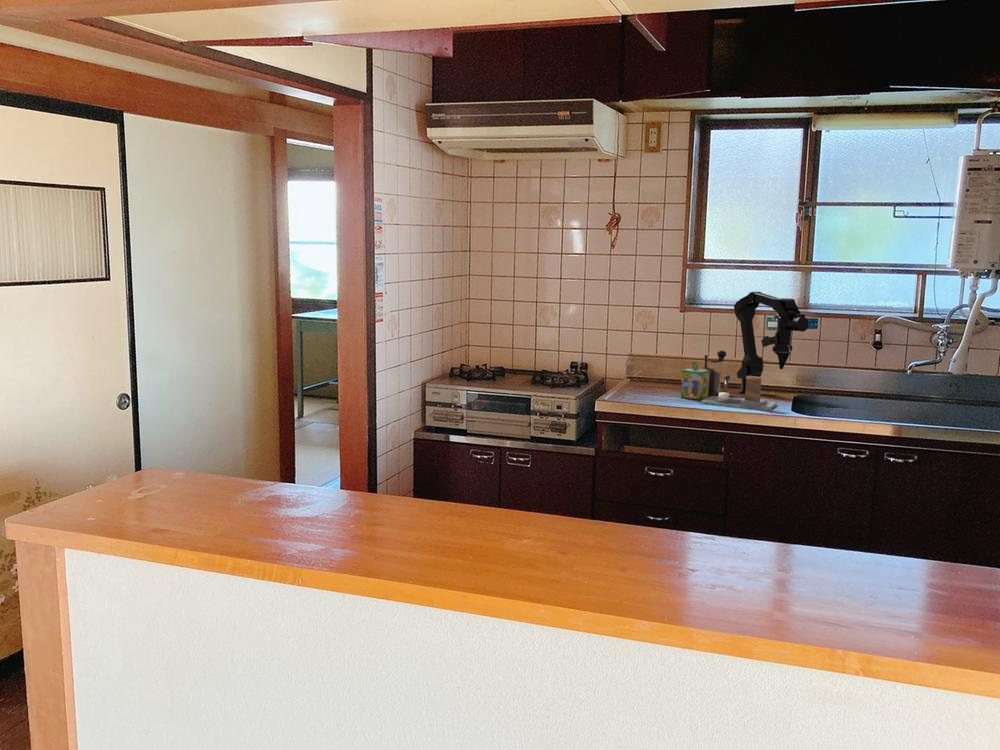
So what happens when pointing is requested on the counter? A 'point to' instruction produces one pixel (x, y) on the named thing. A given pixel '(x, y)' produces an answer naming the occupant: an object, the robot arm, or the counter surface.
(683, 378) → the chalk box
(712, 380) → the grey knobbed device
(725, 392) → the dark gray metallic lever
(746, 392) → the brown tall rectangular block
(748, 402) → the control board
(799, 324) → the robot arm
